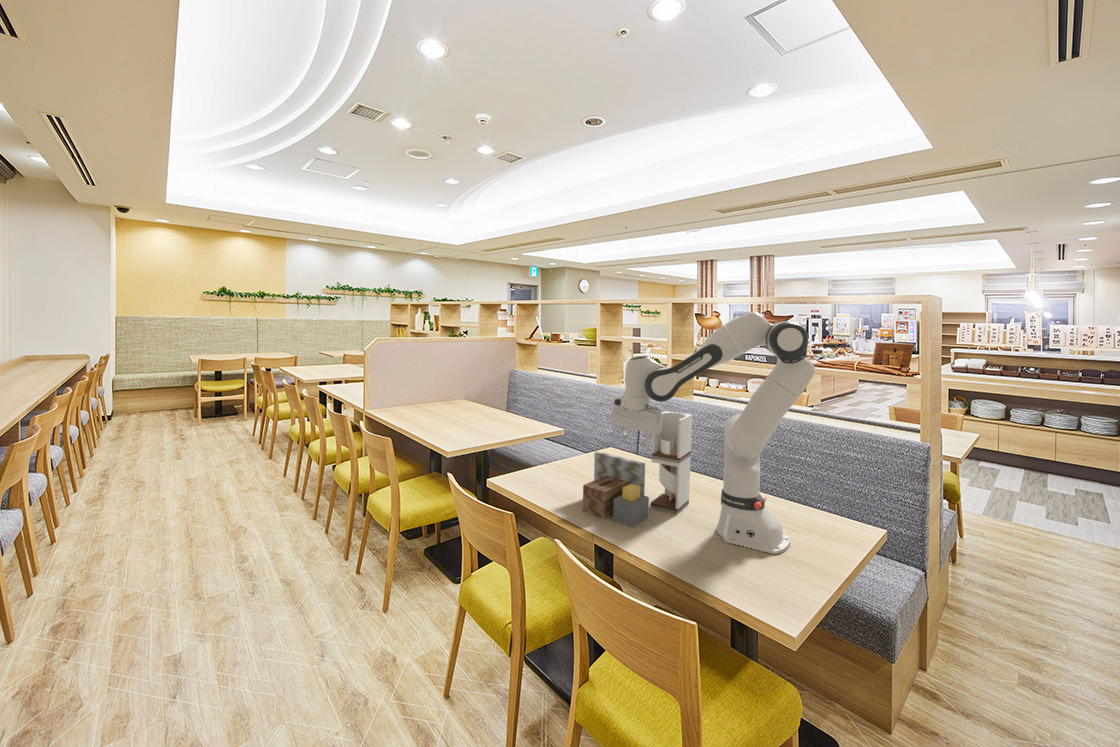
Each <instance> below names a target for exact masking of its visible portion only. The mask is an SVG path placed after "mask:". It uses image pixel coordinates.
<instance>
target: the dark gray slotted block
mask: <svg viewBox="0 0 1120 747" xmlns="http://www.w3.org/2000/svg"><path fill="white" fill-rule="evenodd" d="M622 496H623V495H621V496H619V497H617V498H615V499H614V502H613V515H612V522H615V523H617V524H621V525H623V526H626V527H629V528H631V529H632V528H634V527H636V526H639V525H640V524H641V523H643V522H645V521H647V520H648V519H649V505H650V503H649V502H650V500H649V499H650V497H649V496H647V495H645V494H644V495H641V494H640V498H638V499H636V500H634V501H626V499H623V498H622Z"/></svg>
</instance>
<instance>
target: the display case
mask: <svg viewBox="0 0 1120 747" xmlns="http://www.w3.org/2000/svg"><path fill="white" fill-rule="evenodd" d="M661 418H662V432H661V433H660V434H656V435H653V434H652V437H651V439H652V441H651V446H652V447H651V462H652V463H655V464H658V465H659V466H658V468H659V471H658V480H659V482H660V484H661V485H662V486H663V487H664V493H663V492H662V493H661V494H660V495H658V497H656V498H655V499H654V500H652V501H651V502H650V503H649V505H650V509H653V510H658V511H661V512H666V513H668V512H670V513H669V514H672V513H673V515H676V514H678V513H679V514H680V513H681V512H682V511H684V510H685V509H686V508H687V507H688V506H689V505H690V485H691V484H690V481H691V459H692V456H691V455H692V434H693V433H692V431H693V414H690V413H682V412H676V411H675V412H673V411H667V410H665V411H661ZM688 504H689V505H688ZM687 505H688V506H687ZM686 506H687V507H686ZM685 507H686V508H685ZM684 508H685V509H684ZM679 514H678V515H679Z"/></svg>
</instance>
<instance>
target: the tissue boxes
mask: <svg viewBox="0 0 1120 747" xmlns="http://www.w3.org/2000/svg"><path fill="white" fill-rule="evenodd" d="M593 472H594V473H593V476H594V479H593V480H592V481H589V482H587V483H584V484H583V485H582V487H583V488H582V512H584V513H587V514H589V513H590V515H592V514H593V515H592V516H595V517H598V518H601V519H604V520H606V519H608V518H610V517H611V516H612V517H613V502H614V499H615V498H617V497H619V496H621V495H623V487H625V486H627V485H629V484H633V485H637V486H640V494H641V495H644V496H645V488H646V486H645V485H646V484H645V483H646V482H645V481H646V480H645V479H646V463H645V462H641V461H637V460H635V459H630V458H626V457H622V456H617V455H614V454H609V453H606V452H602V451H598V450H597V451H594V471H593Z"/></svg>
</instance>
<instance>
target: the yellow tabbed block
mask: <svg viewBox="0 0 1120 747" xmlns="http://www.w3.org/2000/svg"><path fill="white" fill-rule="evenodd" d="M622 498H623V499H626V501H634V500H636V499H638V498H640V486H637V485H633V484H629V485H627V486H625V487H623V496H622Z"/></svg>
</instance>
